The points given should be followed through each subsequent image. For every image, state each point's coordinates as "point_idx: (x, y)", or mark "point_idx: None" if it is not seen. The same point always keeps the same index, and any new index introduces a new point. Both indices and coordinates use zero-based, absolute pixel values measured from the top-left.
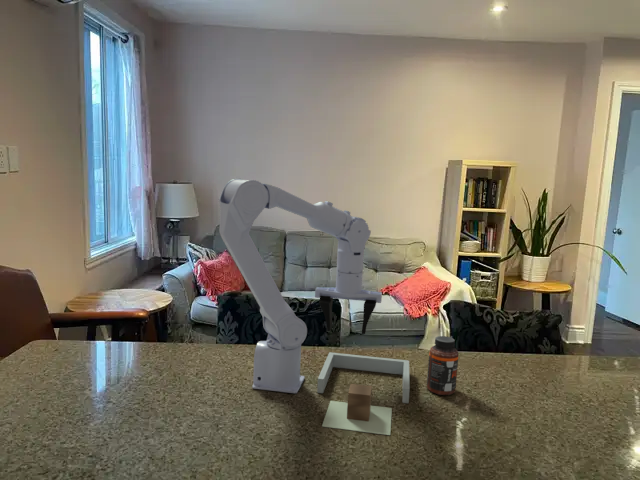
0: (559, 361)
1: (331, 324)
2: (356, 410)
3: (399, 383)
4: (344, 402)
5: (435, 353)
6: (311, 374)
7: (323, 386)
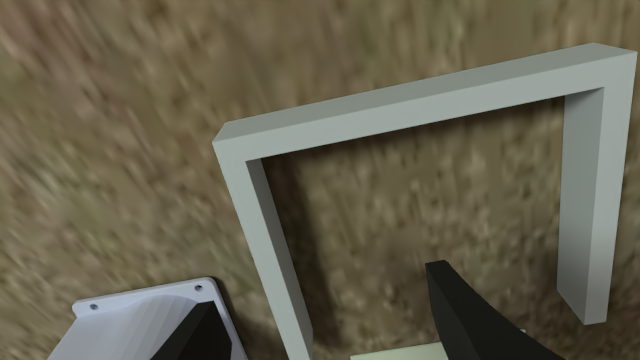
0: None
1: (210, 330)
2: None
3: (548, 164)
4: (390, 352)
5: None
6: (214, 235)
7: (311, 342)
